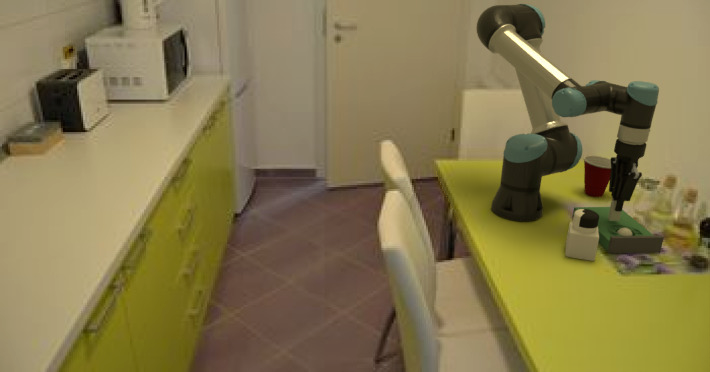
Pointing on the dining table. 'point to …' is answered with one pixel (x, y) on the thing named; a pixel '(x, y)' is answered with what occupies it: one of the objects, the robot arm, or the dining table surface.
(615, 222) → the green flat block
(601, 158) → the plastic cup
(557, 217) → the dining table surface
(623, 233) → the ball
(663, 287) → the dining table surface
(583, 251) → the medicine bottle
